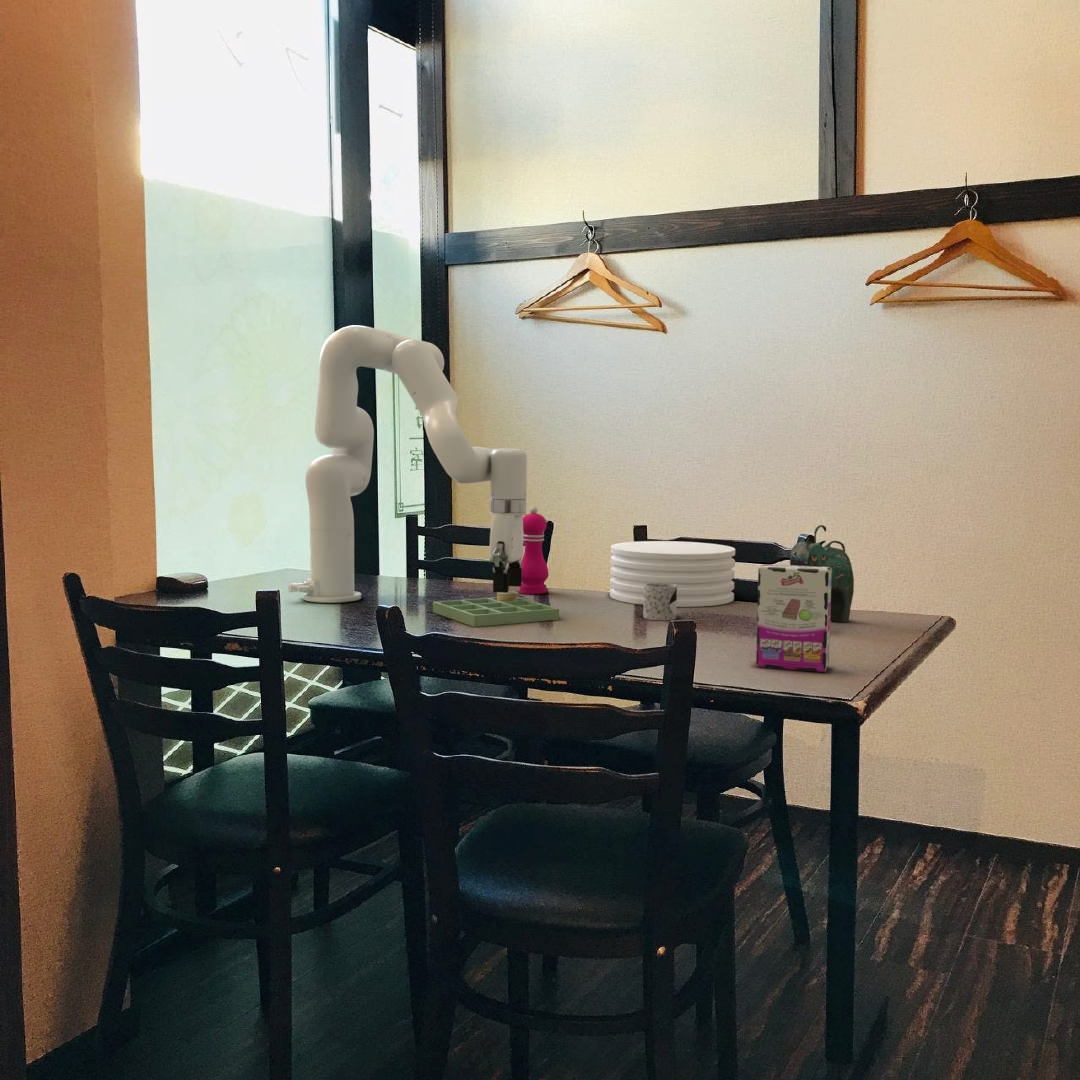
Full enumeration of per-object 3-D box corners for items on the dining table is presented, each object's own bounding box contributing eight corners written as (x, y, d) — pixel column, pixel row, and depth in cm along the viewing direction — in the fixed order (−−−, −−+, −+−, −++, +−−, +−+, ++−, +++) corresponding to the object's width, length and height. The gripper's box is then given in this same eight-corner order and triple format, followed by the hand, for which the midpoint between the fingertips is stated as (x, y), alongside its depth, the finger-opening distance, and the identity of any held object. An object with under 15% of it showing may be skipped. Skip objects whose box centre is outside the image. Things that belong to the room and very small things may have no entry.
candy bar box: (829, 667, 180) (833, 566, 178) (825, 673, 175) (829, 569, 174) (760, 661, 184) (763, 562, 182) (754, 667, 179) (757, 566, 178)
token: (502, 608, 231) (502, 594, 231) (492, 605, 235) (493, 591, 235) (521, 607, 233) (521, 593, 233) (511, 604, 237) (511, 590, 237)
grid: (474, 626, 213) (474, 615, 213) (432, 612, 229) (432, 601, 229) (559, 619, 222) (559, 608, 222) (513, 606, 239) (513, 595, 238)
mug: (677, 620, 223) (678, 587, 222) (643, 619, 223) (644, 587, 222) (673, 612, 233) (674, 581, 232) (641, 611, 233) (642, 580, 232)
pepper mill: (549, 590, 262) (550, 505, 260) (546, 595, 255) (547, 507, 253) (519, 589, 263) (520, 505, 261) (515, 594, 256) (516, 507, 254)
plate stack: (590, 591, 262) (591, 542, 261) (694, 586, 272) (695, 539, 271) (644, 609, 236) (646, 555, 235) (758, 603, 246) (759, 551, 245)
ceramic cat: (808, 634, 210) (812, 528, 208) (778, 629, 214) (782, 525, 212) (858, 621, 224) (862, 522, 222) (829, 617, 228) (833, 520, 226)
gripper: (503, 504, 241) (502, 583, 243) (478, 509, 225) (477, 594, 226) (536, 505, 239) (535, 584, 241) (513, 511, 223) (513, 595, 224)
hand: (507, 589), depth 234 cm, fingers open, 9 cm apart
